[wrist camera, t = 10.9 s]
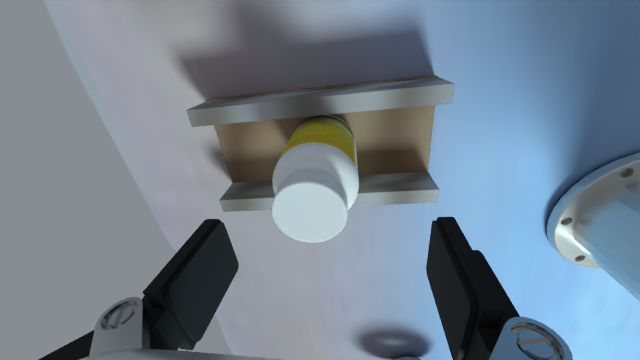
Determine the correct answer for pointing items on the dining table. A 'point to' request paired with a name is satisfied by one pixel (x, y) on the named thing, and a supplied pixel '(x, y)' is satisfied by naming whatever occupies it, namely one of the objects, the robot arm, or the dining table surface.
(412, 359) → the donut
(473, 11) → the dining table surface
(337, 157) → the supplement bottle
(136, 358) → the robot arm
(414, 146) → the track
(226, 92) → the dining table surface
